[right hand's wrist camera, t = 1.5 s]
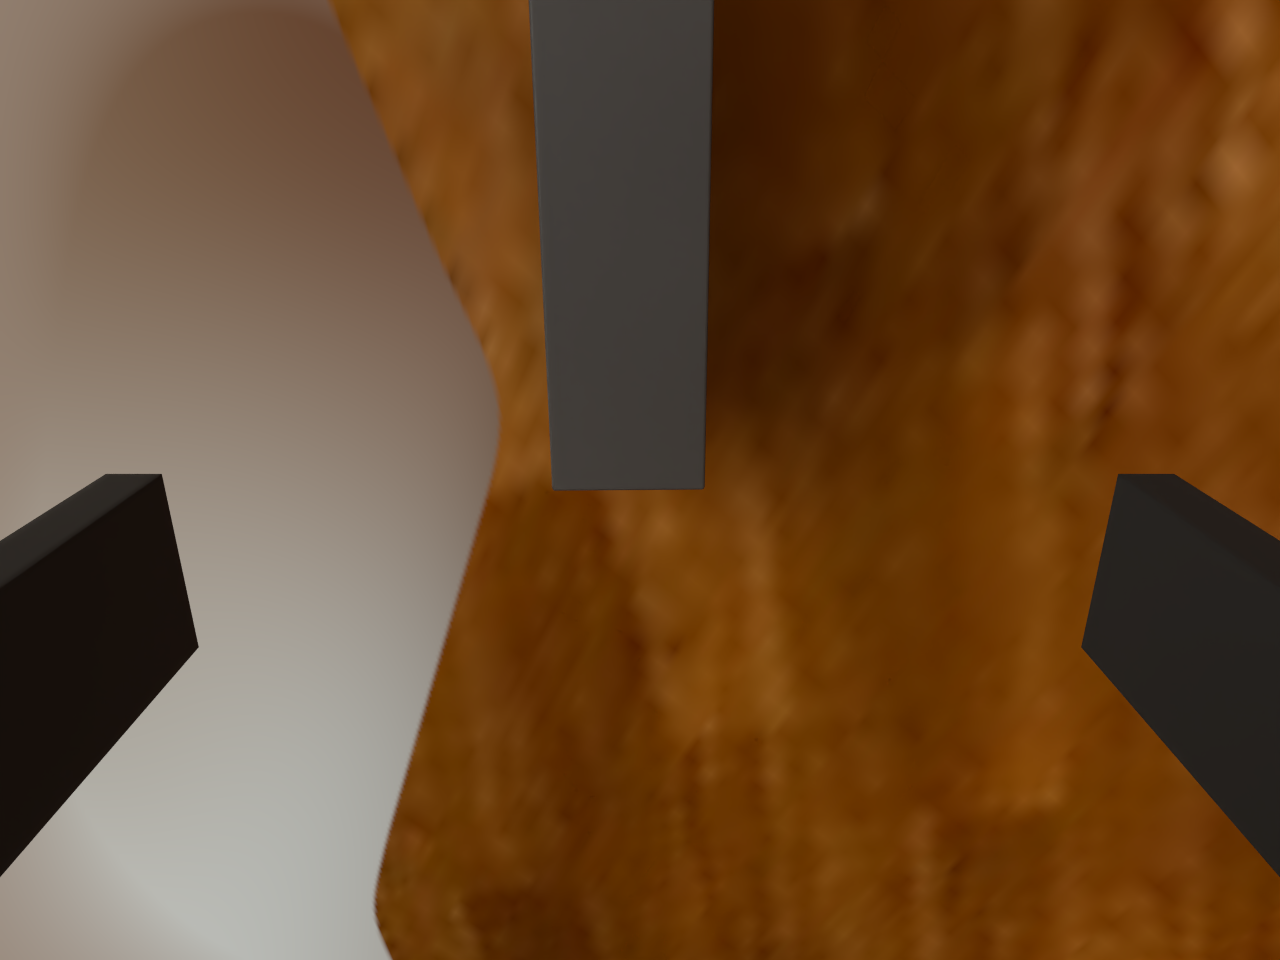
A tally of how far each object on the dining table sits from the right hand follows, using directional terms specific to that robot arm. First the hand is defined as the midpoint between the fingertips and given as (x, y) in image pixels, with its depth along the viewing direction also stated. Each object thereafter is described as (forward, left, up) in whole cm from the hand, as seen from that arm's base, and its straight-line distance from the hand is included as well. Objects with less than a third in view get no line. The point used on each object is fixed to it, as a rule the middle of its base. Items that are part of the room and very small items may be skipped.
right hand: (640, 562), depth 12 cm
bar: (+6, +4, -23) cm, 24 cm away
